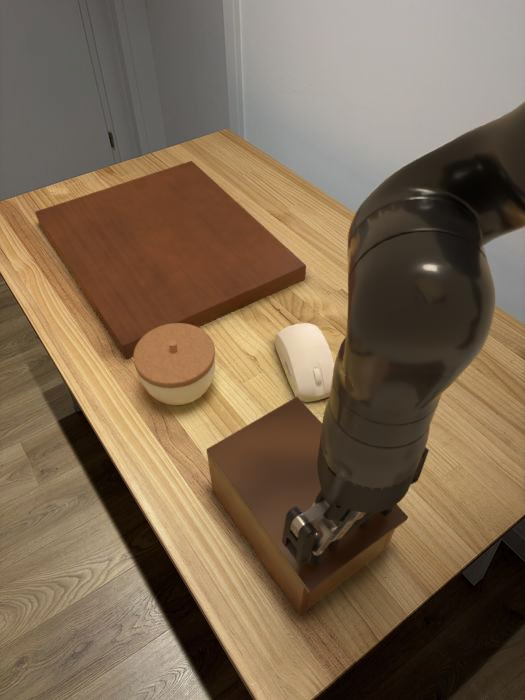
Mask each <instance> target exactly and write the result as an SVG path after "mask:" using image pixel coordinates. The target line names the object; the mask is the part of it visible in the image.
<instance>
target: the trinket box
mask: <svg viewBox="0 0 525 700" xmlns="http://www.w3.org/2000/svg"><path fill="white" fill-rule="evenodd" d="M215 347H216V346H215V343H214V341H213V339H212V337H211V336H210V334H208V333H207V331H205V330H203V329H202V328H200V327H196V326H193V325H190V324H184V323H172V324H166V325H163V326H160V327H157V328H155V329H153V330H151V331H150V332H148V333H147V334H145V335H144V336H143V337H142V338H141V339H140V341H139V342H138V343H137V345H136V347H135V350H134V355H133V357H132V359H133V364H134V365H133V366H134V368H135V370H136V372H137V375H138V377H139V381H140V383H141V384H142V386H143V387H144V389H145V390H146V391H147V393H148V394H149V395H150V396H151V397H153V398H154V399H155V400H157V401H158V402H160V403H163V404H166V405H170V406H181V405H187V404H190V403H192V402H194V401H196V400H198V399H199V398H201V397H202V396H203V395H204V394H205V393H206V392H207V391H208V390H209V388H210V386H211V384H212V383H213V380H214V376H215V372H216V371H215V370H216V348H215Z"/></svg>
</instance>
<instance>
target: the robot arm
mask: <svg viewBox="0 0 525 700" xmlns="http://www.w3.org/2000/svg"><path fill="white" fill-rule="evenodd" d="M524 228H525V100H524V101H523V102H522V103H521V104H519V105H518V106H517V107H515V108H514V109H512V110H511V111H508V112H507V113H505V114H503V115H501V116H499V117H497V118H494V119H493V120H491V121H487V122H486V123H483V124H481V125H479V126H477V127H474V128H473V129H470V130H468V131H466V132H464V133H463V134H460V135H459V136H456V137H454V138H453V139H451V140H449V141H447V142H445V143H443V144H442V145H440V146H437V147H436V148H434V149H432V150H431V151H428V152H427V153H425V154H423V155H421V156H419V157H417V158H416V159H413V160H412V161H410V162H408V163H407V164H405V165H403V166H401V167H400V168H398V169H397V170H396V171H394V172H393V173H391V174H390V175H389V176H387V177H386V178H385V179H384V180H383V181H382V182H380V183H379V184H378V185H377V186H376V187H375V188H374V189H373V190H372V191H371V192H370V193H369V195H367V196H366V198H365V199H364V200H363V202H362V203H361V204H360V205H359V207H358V208H357V210H356V212H355V213H354V215H353V217H352V219H351V222H350V225H349V228H348V233H347V243H346V245H347V246H346V247H347V248H346V249H347V319H346V331H345V332H346V334H345V337H344V339H343V340H342V341H341V343H340V345H339V348H338V350H337V353H336V356H335V360H334V364H335V365H334V370H333V378H332V385H331V392H330V396H329V397H328V400H327V403H326V405H325V408H324V412H323V416H322V422H321V423H322V431H321V438H320V446H319V453H318V461H317V471H318V477H319V481H320V485H321V491H320V492H319V494H318V495H317V497H316V500H315V502H314V503H313V505H312V506H311V507H310V508H309V509H308V510H307V511H305V512H304V513H303V512H302V511H301V510H300V509H299V508H298V507H297V506H296V507H294V508H292V509H290V510H289V512H288V513H287V514H286V519H285V525H284V532H283V538H282V543H283V544H284V546H285V547H286V548H287V549H288V550H289V552H290V553H291V554H292V556H293V557H294V558H295V560H296V562H297V563H298V565H299V566H300V565H302V564H305V563H306V562H308V563H309V565H313V564H315V566H317V567H318V566H320V565H321V564H322V563H324V559H325V554H326V549H327V546H328V545H329V544H330V543H331V542H332V541H335V540H338V539H341V538H342V537H343V536H344V535H345V533H346V532H347V531H348V530H349V528H350V527H351V526H352V525H353V524H354V522H355V521H356V520H359V519H361V518H362V517H363V516H364V515H365V514H366V513H375V512H381V514H382V515H384V516H387V515H388V514H389V513H391V511H392V509H393V506H395V505H396V504H397V505H398V504H399V503H400V502H401V501H402V500H403V499H404V498H405V496H406V495H407V493H408V492H409V488H410V487H411V485H413V484H415V483H417V482H418V481H419V478H421V474H422V472H423V468H424V465H425V464H426V463H425V462H426V460H427V457H428V454H429V452H430V450H429V448H427V447H426V446H427V444H428V440H429V435H430V428H431V424H432V421H433V419H434V416H435V413H436V410H437V408H438V405H439V403H440V400H441V397H442V394H443V393H444V392H445V391H446V390H448V388H450V387H451V386H452V385H453V384H454V382H456V380H457V379H459V377H460V376H461V375H462V374H463V373H464V372H465V371H466V369H467V368H468V367H470V365H471V364H472V363H473V362H474V361H475V359H477V357H478V356H479V354H481V352H482V350H483V348H484V346H485V344H486V343H487V340H488V339H489V338H488V337H489V335H490V332H491V328H492V324H493V320H494V316H495V311H496V288H495V283H494V278H493V275H492V272H491V271H492V270H491V267H490V265H489V261H488V257H487V254H486V250H485V246H486V245H487V244H489V243H490V242H492V241H494V240H496V239H498V238H500V237H503V236H505V235H508V234H511V233H513V232H516V231H518V230H519V231H520V230H522V229H524ZM332 520H335V521H342V522H341V523H340V524H339V526H338V527H337V526H336V525H335V524H334V522H333V521H332ZM316 525H317V526H318V527H319V529H320V530H321V531H322V533H323V537H322V538H321V539H320V538H319V537H318V535H319V532H318V531H317V530H316V528H315V527H316Z"/></svg>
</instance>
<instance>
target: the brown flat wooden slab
mask: <svg viewBox="0 0 525 700" xmlns="http://www.w3.org/2000/svg"><path fill="white" fill-rule="evenodd" d="M34 213H35V216H36V218H37V219H36V220H37V221H38V224H39V226H40V228H41V229H42V231H43V232H44V234H45V235H46V237H47V239H48V240H49V241H50V244H51V245H52V247H53V248H54V250H55V251H56V252H57V254H58V256H59V257H60V259H61V261H62V262H63V263H64V266H65V267H66V268H67V269H68V271H69V273H70V274H71V276H72V278H73V279H74V281H75V282H76V283H77V285H78V286H79V288H80V290H81V291H82V293H83V295H84V296H85V298H86V300H87V301H88V302H89V304H90V305H91V307H92V309H93V310H94V312H95V314H96V315H97V316H98V318H99V319H100V321H101V323H102V324H103V326H104V328H105V329H106V330H107V332H108V333H109V335H110V337H111V338H112V340H113V341H114V342H115V344H116V346H117V348H118V349H119V350H120V352H121V353H122V355H123V357H124V358H125V360H128V359H131V358H133V355H134V350H135V347H136V345H137V343H138V342H139V341H140V339H141V338H142V337H143V336H144V335H145V334H147V333H148V332H150V331H151V330H153V329H155V328H157V327H160V326H163V325H166V324H172V323H184V324H190V325H193V326H196V327H198V328H200V327H201V326H204V325H207V324H209V323H210V322H213V321H215V320H218V319H219V318H221V317H224V316H226V315H228V314H231V313H233V312H235V311H238V310H239V309H241V308H244V307H246V306H249V305H251V304H253V303H254V302H257V301H259V300H261V299H264V298H266V297H268V296H270V295H274V294H275V293H277V292H279V291H281V290H284V289H286V288H288V287H291V286H293V285H295V284H297V283H300V282H302V281H304V280H306V276H307V275H306V273H307V265H306V263H304V262H303V261H302V260H301V259H300V258H299V257H298V256H297V255H296V254H294V253H293V251H291V250H290V249H289V248H288V247H287V246H286V245H284V244H283V243H282V242H281V241H280V240H279V239H278V238H277V237H276V236H275V235H274V234H273V233H272V232H271V231H269V230H268V229H267V228H266V227H265V226H264V225H263V224H262V223H261V222H260V221H259V220H257V219H256V218H255V217H254V216H253V215H252V214H251V213H250V212H248V211H247V210H246V209H245V208H244V207H243V206H242V205H241V204H240V203H239V202H237V201H236V200H235V198H233V197H232V196H231V195H230V194H229V193H228V192H227V191H226V190H224V189H223V188H222V186H220V185H219V184H218V183H217V182H216V181H215V180H213V179H212V178H211V177H210V176H209V175H208V174H207V173H206V172H205V171H204V170H203V169H202V168H200V167H199V166H198V165H197V164H196V163H195V162H194V161H193V160H190V161H186V162H183V163H181V164H178V165H174V166H171V167H168V168H164V169H162V170H159V171H155V172H153V173H149V174H146V175H144V176H140V177H138V178H135V179H131V180H128V181H125V182H122V183H119V184H116V185H113V186H110V187H107V188H103V189H101V190H98V191H93V192H91V193H88V194H85V195H82V196H79V197H76V198H73V199H70V200H67V201H64V202H60V203H57V204H54V205H52V206H51V205H50V206H47V207H45V208H41V209H39V210H36V211H35V212H34Z"/></svg>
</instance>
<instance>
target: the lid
mask: <svg viewBox="0 0 525 700" xmlns="http://www.w3.org/2000/svg"><path fill="white" fill-rule="evenodd" d="M322 423H323V422H321V420H320V419H319V418H318V417H317V416H316V415H315V414H314V413H313V411H311V410H310V408H309V407H308V406H307V405H306V404H305V402H303V401H301V400H300V399H299V398H298V397H295V396H294V398H292V399H290V400H289V401H287V402H285V403H283V404H282V405H279V406H278V407H276V408H275V409H273V410H271V411H270V412H268V413H266V414H264V415H263V416H261V417H259V418H258V419H255V420H254V421H252V422H251V423H249V424H247V425H246V426H244V427H242V428H240V429H238V430H237V431H235V432H234V433H231V434H230V435H228V436H227V437H225V438H223V439H222V440H219V441H218V442H216V443H215V444H213V445H211V446H209V447H208V448H206V449H205V451H206V455H207V454H208V455H209V457H210V458H211V459H212V461H213V462H214V464H215V465H216V466H217V468H218V469H219V470H220V472H221V473H222V475H223V476H224V477H225V479H226V480H227V481H228V483H229V484H230V486H231V487H232V488H233V490H234V491H235V492H236V494H237V495H238V497H239V498H240V499H241V501H242V502H243V503H244V505H245V506H246V508H247V509H248V510H249V512H250V513H251V515H252V516H253V517H254V519H255V520H256V521H257V523H258V524H259V526H260V527H261V528H262V530H263V531H264V532H265V534H266V535H267V537H268V538H269V539H270V541H271V542H272V543H273V545H274V546H275V548H276V549H277V550H278V552H279V553H280V554H281V556H282V557H283V559H284V560H285V561H286V563H287V564H288V566H289V567H290V568H291V570H292V571H293V572H294V574H295V575H296V577H297V578H298V579H299V581H300V582H301V583H302V585H303V586H304V588H305V589H306V590H307V592H308V593H309V594H310V593H312V592H313V591H314V590H316V589H317V588H318V587H320V586H321V585H322V584H323V583H325V582H326V581H327V580H329V579H330V578H331V577H333V576H334V575H335V574H337V573H338V572H339V571H341V570H342V569H343V568H345V567H346V566H347V565H348V564H350V563H351V562H352V561H354V560H355V559H356V558H358V557H359V556H360V555H362V554H363V553H364V552H366V551H367V550H368V549H370V548H371V547H372V546H374V545H375V544H376V543H377V542H379V541H380V540H381V539H383V538H384V537H385V536H387V535H388V534H389V533H391V532H392V531H393V530H395V531H396V529H397V528H399V527H400V526H401V525H403V524H404V523H406V522H407V521H408V518H409V516H408V514H407V513H405V512H404V510H403V509H402V508H401V507H400V506H399V505H398V503H397V504H396V505H395V506H393V509H392V511H391V513H389V514H388V515H387V516H384V515H382V514H381V512H375V513H366V514H365V515H364V516H363V517H362V518H361V519H359V520H356V521H355V522H354V524H353V525H352V526H351V527H350V528H349V530H348V531H347V532H346V533H345V535H344V536H343V537H342V538H341V539H338V540H335V541H332V542H331V543H330V544H329V545H328V546H327V549H326V554H325V559H324V563H322V564H321V565H320V566H318V567H317V566H315V564H313V565H309V563H308V562H306V563H305V564H302V565H300V566H299V565H298V563H297V562H296V560H295V558H294V557H293V556H292V554H291V553H290V552H289V550H288V549H287V548H286V547H285V546H284V544H283V543H282V538H283V532H284V525H285V519H286V514H287V513H288V512H289V510H290V509H292V508H294V507H296V506H297V507H298V508H299V509H300V510H301V511H302V512H303V513H304V512H305V511H307V510H308V509H309V508H310V507H311V506H312V505H313V503H314V502H315V500H316V497H317V495H318V494H319V492H320V491H321V485H320V481H319V477H318V471H317V461H318V453H319V446H320V438H321V431H322ZM332 521H333V522H334V524H335V525H336V526H337V527H338V526H339V524H340V523H341V522H342V521H335V520H332ZM315 528H316V530H317V531H318V532H319V535H318V537H319V538H320V539H321V538H322V537H323V533H322V531H321V530H320V529H319V527H318V526H317V525H316V527H315Z"/></svg>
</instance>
